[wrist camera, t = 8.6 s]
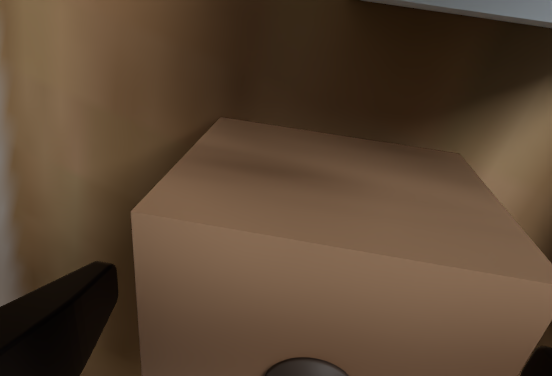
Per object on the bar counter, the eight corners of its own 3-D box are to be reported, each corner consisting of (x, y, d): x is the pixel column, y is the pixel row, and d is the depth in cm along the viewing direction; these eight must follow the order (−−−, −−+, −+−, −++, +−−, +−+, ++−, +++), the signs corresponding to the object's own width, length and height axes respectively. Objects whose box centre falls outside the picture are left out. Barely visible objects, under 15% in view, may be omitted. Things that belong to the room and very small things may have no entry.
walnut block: (395, 325, 12) (433, 520, 8) (212, 291, 12) (144, 457, 8) (457, 151, 9) (576, 292, 5) (222, 115, 10) (127, 214, 5)
